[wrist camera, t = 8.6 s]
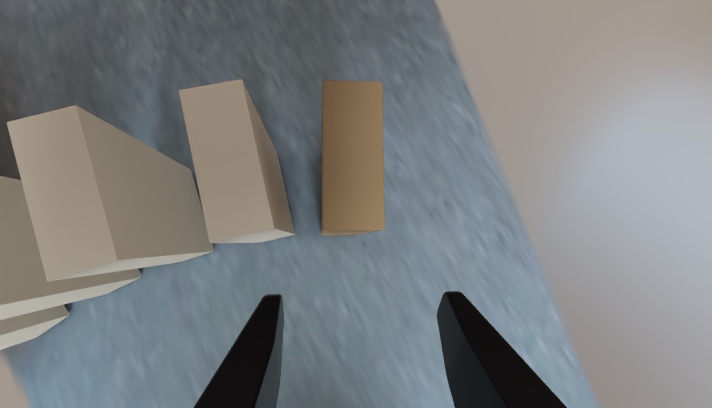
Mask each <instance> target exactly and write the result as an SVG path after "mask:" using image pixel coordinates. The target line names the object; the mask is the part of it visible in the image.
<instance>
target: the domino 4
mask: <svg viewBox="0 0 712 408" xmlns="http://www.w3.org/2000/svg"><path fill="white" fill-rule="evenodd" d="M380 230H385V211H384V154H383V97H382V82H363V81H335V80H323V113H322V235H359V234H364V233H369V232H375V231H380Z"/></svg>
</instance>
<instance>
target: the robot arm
mask: <svg viewBox="0 0 712 408" xmlns="http://www.w3.org/2000/svg"><path fill="white" fill-rule="evenodd" d="M437 320H438V326H439V332H440V338H441V345H442V351H443V357H444V363H445V369H446V375H447V379H448V383H449V387H450V391H451V395H452V398H453V402H454V406H455V408H567V407H566V406H565V405H564V404H563V403H562V402H561V401H560V399H559V398H558V397H557V396H556V395H555V394H554V393H553V392H552V391H551V390H550V389H549V387H548V386H547V385H546V384H545V383H544V382H543V381H542V380H541V379H540V378H539V377H538V375H537V374H536V373H535V372H534V371H533V370H532V369H531V368H530V367H529V366H528V364H527V363H526V362H525V361H524V360H523V359H522V358H521V357H520V356H519V355H518V354H517V352H516V351H515V350H514V349H513V348H512V347H511V346H510V345H509V344H508V343H507V342H506V340H505V339H504V338H503V337H502V336H501V335H500V334H499V333H498V332H497V331H496V330H495V328H494V327H493V326H492V325H491V324H490V323H489V322H488V321H487V320H486V319H485V318H484V316H483V315H482V314H481V313H480V312H479V311H478V310H477V309H476V308H475V307H474V305H473V304H472V303H471V302H470V301H469V300H468V299H467V298H466V297H465V296H464V295H463V294H462V293H461V292H458V291H449V292H445V293H444V294H443V296H442V299H441V302H440V305H439V308H438V311H437ZM283 326H284V312H283V302H282V296H281V295H280V294H267V295H265V296H264V297H263V298H262V300H261V301H260V303H259V304H258V306H257V308H256V309H255V311H254V312H253V314H252V315H251V317H250V319H249V320H248V322H247V323H246V325H245V327H244V328H243V330H242V331H241V333H240V335H239V336H238V338H237V339H236V341H235V343H234V344H233V346H232V347H231V349H230V351H229V352H228V354H227V355H226V357H225V358H224V360H223V362H222V363H221V365H220V366H219V368H218V370H217V371H216V373H215V374H214V376H213V378H212V379H211V381H210V382H209V384H208V386H207V387H206V389H205V390H204V392H203V394H202V395H201V397H200V398H199V400H198V401H197V403H196V405H195V406H194V408H276V404H277V398H278V392H279V386H280V376H281V360H282V343H283Z"/></svg>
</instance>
